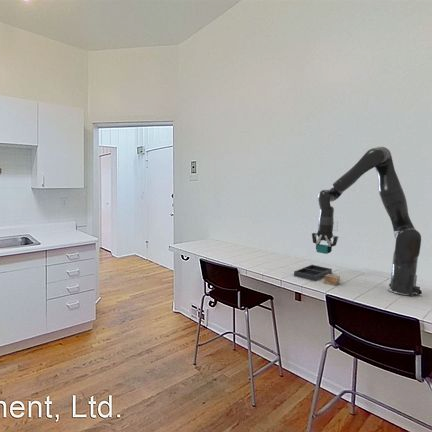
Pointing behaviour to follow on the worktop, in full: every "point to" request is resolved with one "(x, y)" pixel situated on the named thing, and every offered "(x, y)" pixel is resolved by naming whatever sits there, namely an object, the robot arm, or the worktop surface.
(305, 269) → the dark grey compartment tray
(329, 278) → the tan rounded lump
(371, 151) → the robot arm
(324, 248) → the teal block
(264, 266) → the worktop surface
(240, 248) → the worktop surface
